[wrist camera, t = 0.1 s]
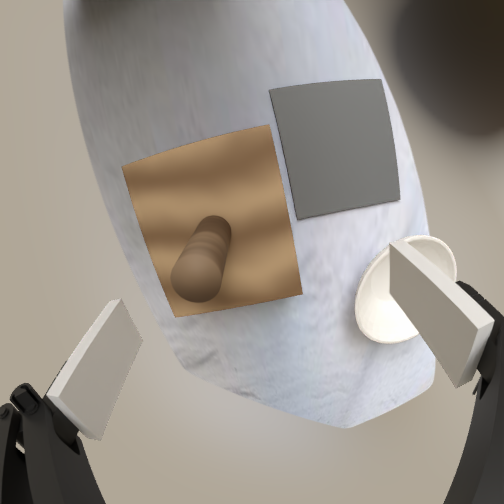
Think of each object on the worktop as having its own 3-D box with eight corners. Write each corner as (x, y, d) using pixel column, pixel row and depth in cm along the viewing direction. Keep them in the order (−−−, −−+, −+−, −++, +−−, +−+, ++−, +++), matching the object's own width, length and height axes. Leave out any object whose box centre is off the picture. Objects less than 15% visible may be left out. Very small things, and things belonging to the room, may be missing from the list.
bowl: (445, 283, 45) (463, 300, 39) (366, 337, 49) (378, 361, 43) (417, 199, 39) (441, 210, 33) (322, 264, 43) (333, 285, 37)
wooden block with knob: (161, 157, 37) (62, 183, 15) (263, 130, 35) (280, 112, 14) (194, 268, 43) (151, 380, 22) (288, 249, 42) (321, 357, 21)
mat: (269, 90, 33) (269, 89, 33) (380, 79, 32) (381, 79, 31) (297, 218, 40) (297, 219, 40) (399, 198, 39) (400, 199, 38)
